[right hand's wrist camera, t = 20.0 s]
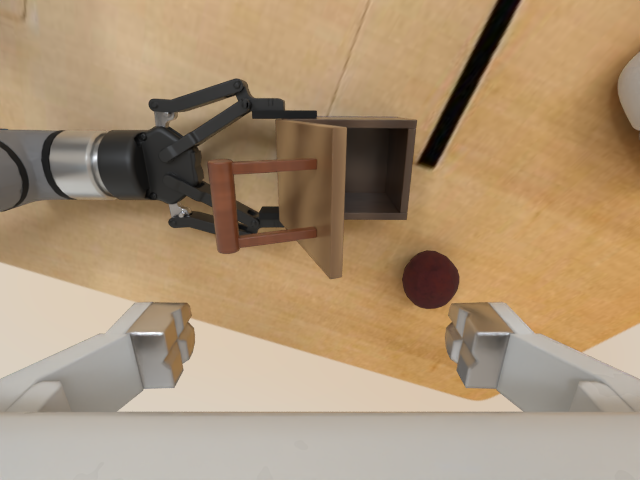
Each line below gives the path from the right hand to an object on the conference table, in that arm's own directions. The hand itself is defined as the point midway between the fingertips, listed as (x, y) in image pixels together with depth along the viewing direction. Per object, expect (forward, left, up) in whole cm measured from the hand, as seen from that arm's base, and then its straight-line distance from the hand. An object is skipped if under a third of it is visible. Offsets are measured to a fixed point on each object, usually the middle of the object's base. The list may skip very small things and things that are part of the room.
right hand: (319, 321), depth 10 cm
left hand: (0, 0, -29) cm, 29 cm away
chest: (-3, 0, -35) cm, 35 cm away
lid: (+1, 0, -19) cm, 19 cm away
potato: (-13, +17, -35) cm, 41 cm away
